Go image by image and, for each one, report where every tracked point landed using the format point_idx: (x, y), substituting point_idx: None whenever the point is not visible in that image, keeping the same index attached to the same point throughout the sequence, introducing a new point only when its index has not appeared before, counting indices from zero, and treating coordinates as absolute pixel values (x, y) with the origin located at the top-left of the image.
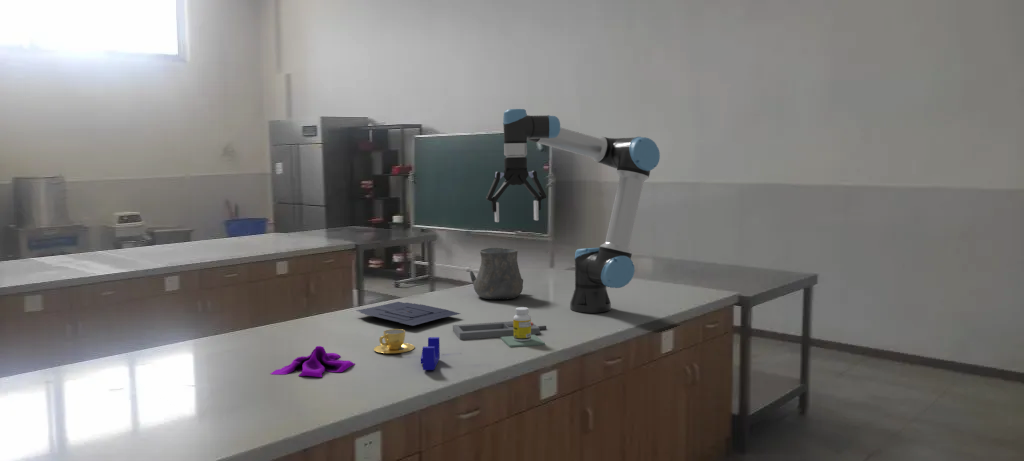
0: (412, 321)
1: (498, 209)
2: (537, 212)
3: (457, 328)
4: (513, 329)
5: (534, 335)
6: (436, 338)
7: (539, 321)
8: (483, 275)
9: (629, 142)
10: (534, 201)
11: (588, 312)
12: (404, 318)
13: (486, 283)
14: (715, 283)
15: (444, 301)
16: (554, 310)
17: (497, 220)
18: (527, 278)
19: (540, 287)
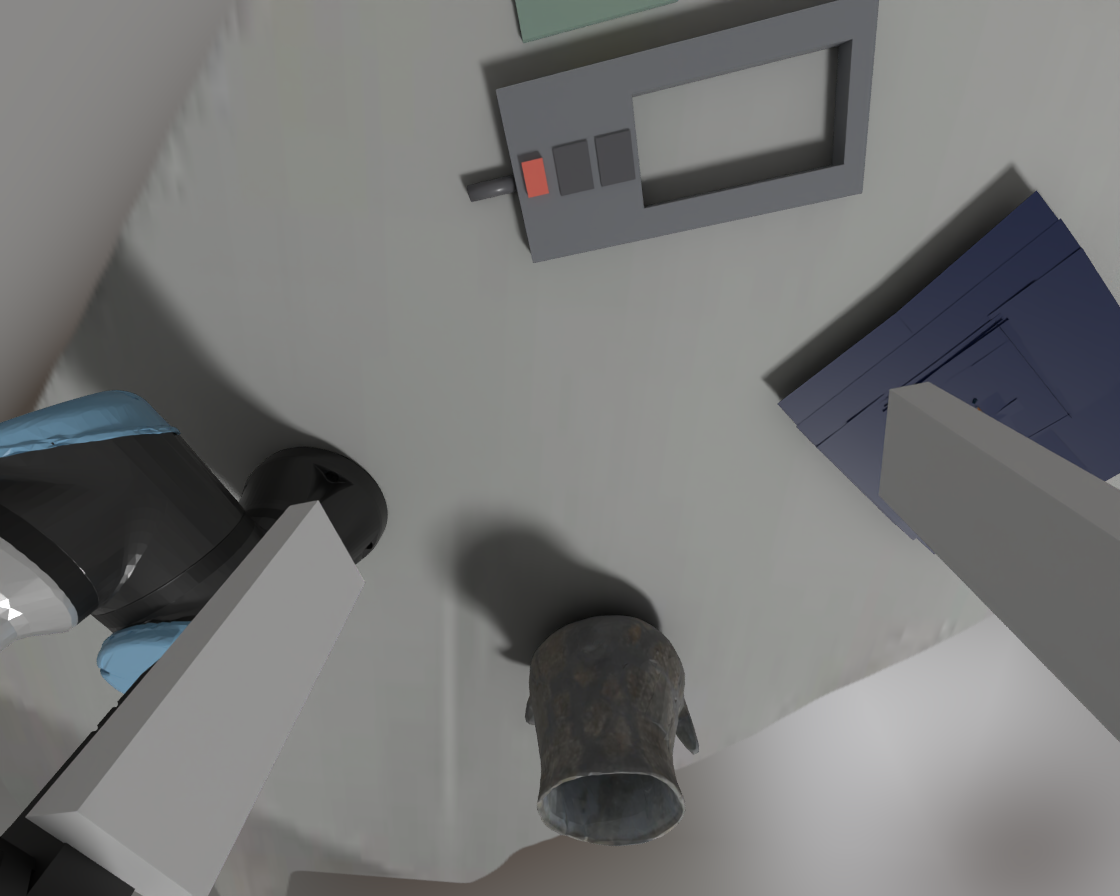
0: (1012, 268)
1: (1086, 506)
2: (236, 585)
3: (860, 114)
4: (615, 65)
5: (523, 19)
6: None
7: (492, 339)
8: (664, 695)
9: None
10: (176, 849)
11: (322, 449)
12: (1033, 310)
13: (653, 658)
14: (19, 745)
15: (768, 633)
16: (439, 496)
17: (936, 395)
18: (508, 824)
19: (477, 748)
